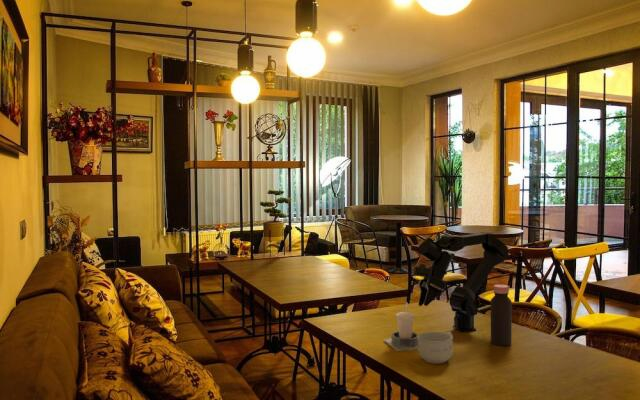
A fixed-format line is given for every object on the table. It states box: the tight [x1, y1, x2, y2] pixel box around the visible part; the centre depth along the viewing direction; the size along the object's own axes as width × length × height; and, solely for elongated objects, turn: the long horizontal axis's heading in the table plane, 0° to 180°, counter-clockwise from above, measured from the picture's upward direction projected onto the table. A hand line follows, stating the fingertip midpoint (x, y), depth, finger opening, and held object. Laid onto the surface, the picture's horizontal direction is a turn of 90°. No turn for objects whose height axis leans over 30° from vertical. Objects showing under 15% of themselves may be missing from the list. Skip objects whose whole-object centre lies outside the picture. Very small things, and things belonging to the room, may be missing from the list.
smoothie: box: [395, 301, 416, 339], centre depth 172 cm, size 6×6×14 cm
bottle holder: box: [383, 330, 419, 352], centre depth 172 cm, size 11×11×3 cm
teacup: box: [417, 331, 454, 365], centre depth 158 cm, size 14×11×8 cm
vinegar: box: [490, 284, 513, 347], centre depth 172 cm, size 7×7×20 cm
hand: (422, 305), depth 179 cm, fingers open, 9 cm apart
